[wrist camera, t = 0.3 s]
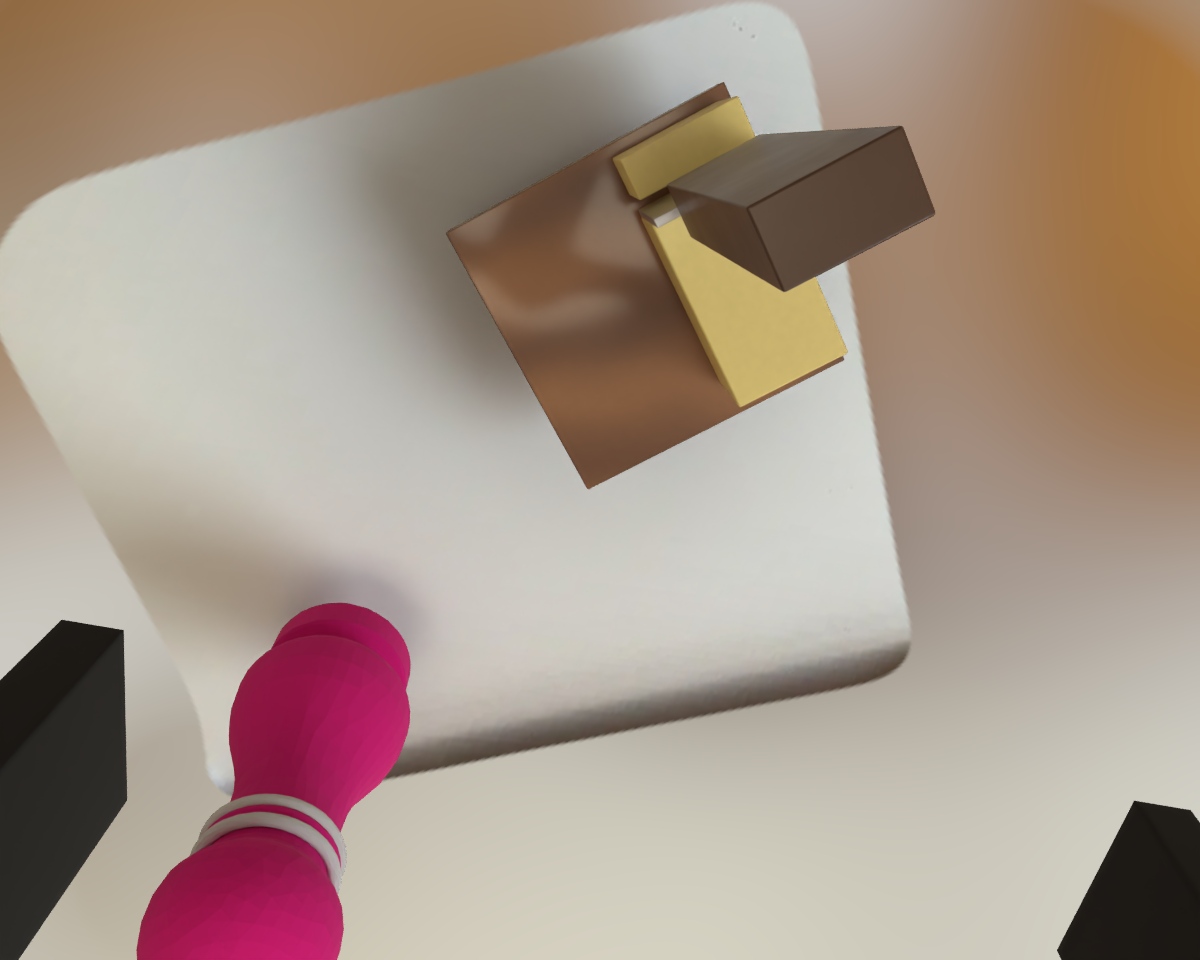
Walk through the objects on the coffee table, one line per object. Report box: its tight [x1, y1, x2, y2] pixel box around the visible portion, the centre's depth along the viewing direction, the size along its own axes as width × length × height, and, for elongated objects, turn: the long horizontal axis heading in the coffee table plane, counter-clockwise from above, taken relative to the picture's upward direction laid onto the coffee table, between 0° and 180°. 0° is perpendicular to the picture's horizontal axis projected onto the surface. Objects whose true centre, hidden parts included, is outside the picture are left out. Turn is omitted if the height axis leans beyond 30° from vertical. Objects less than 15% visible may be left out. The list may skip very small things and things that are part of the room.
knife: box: [638, 126, 935, 292], centre depth 26 cm, size 2×5×17 cm, turn 117°
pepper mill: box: [137, 603, 410, 960], centre depth 36 cm, size 7×7×20 cm
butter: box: [613, 96, 847, 407], centre depth 37 cm, size 10×4×4 cm, turn 27°
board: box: [446, 82, 844, 489], centre depth 40 cm, size 12×12×2 cm
